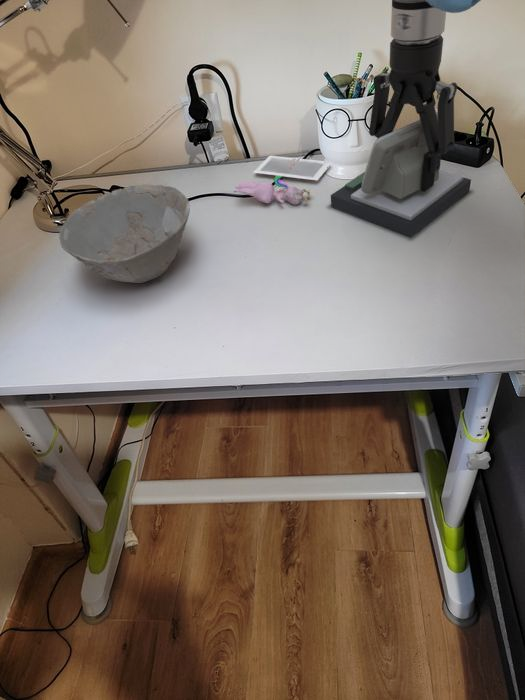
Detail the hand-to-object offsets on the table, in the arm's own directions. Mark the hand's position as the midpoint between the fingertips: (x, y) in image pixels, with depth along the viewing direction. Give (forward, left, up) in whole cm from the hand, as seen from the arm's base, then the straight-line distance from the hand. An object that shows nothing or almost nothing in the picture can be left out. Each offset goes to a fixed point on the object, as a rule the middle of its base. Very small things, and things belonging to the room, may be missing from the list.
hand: (406, 181), depth 90 cm
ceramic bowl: (+26, +42, -5) cm, 50 cm away
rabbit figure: (+22, +13, -5) cm, 26 cm away
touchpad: (+27, +2, -5) cm, 28 cm away
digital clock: (+1, 0, 0) cm, 1 cm away
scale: (+2, -1, -5) cm, 5 cm away
